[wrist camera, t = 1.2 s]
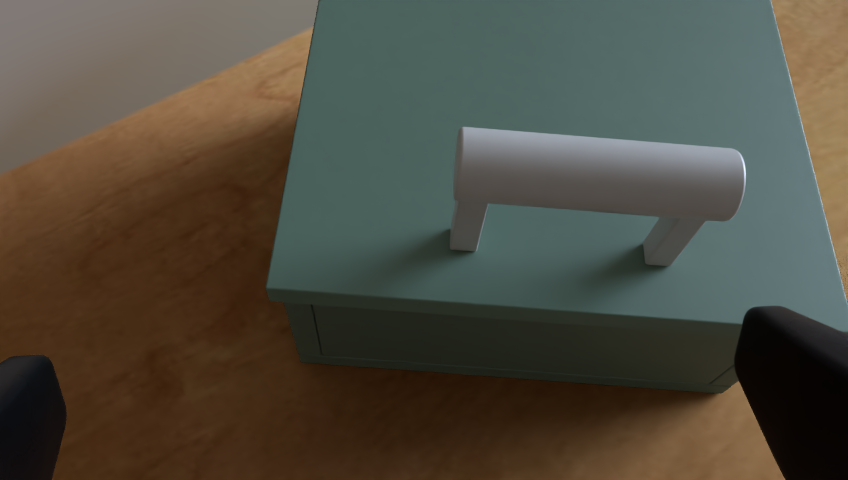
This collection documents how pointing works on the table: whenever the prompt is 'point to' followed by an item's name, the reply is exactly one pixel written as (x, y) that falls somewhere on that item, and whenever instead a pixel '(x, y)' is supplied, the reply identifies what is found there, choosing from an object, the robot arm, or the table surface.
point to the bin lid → (554, 166)
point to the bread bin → (512, 348)
